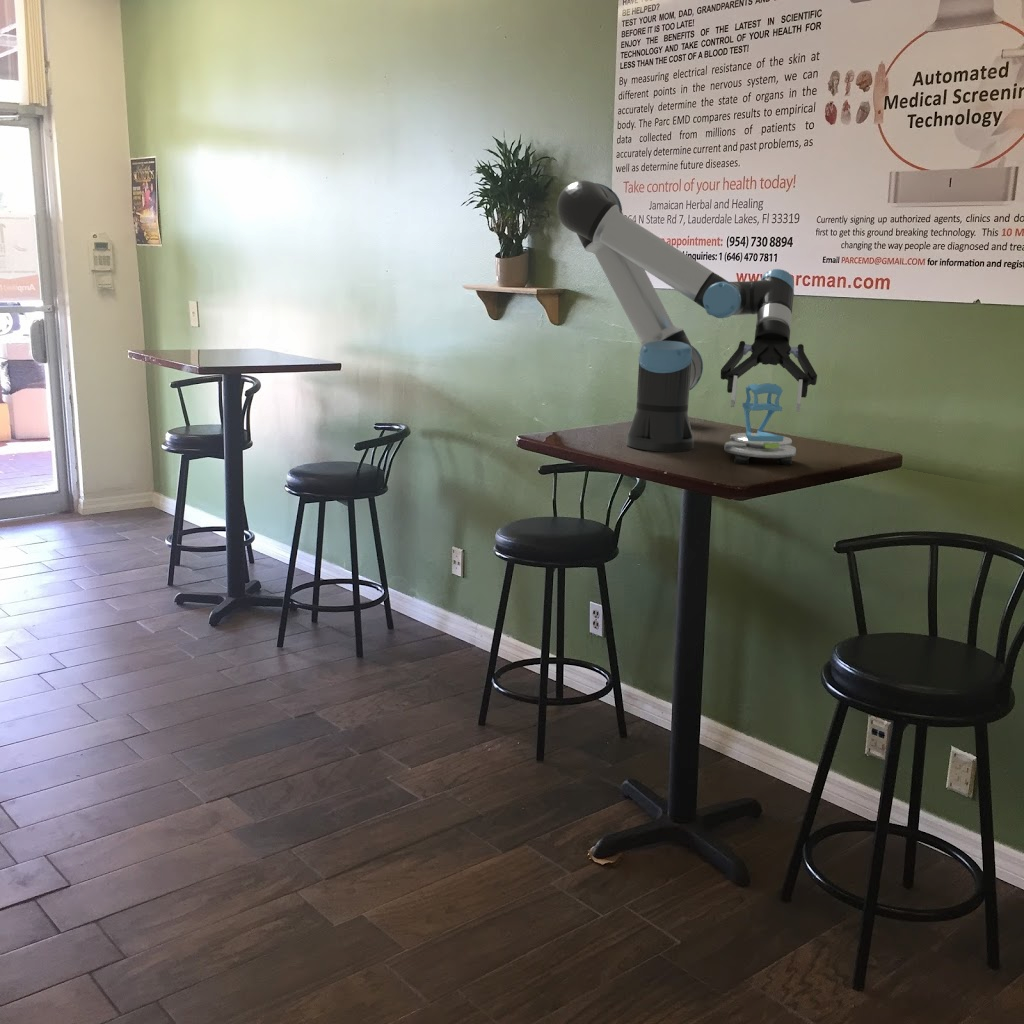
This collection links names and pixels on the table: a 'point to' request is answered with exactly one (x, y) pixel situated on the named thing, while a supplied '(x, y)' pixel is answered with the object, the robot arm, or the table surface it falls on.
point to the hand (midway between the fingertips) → (765, 405)
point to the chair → (762, 406)
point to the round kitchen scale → (759, 449)
